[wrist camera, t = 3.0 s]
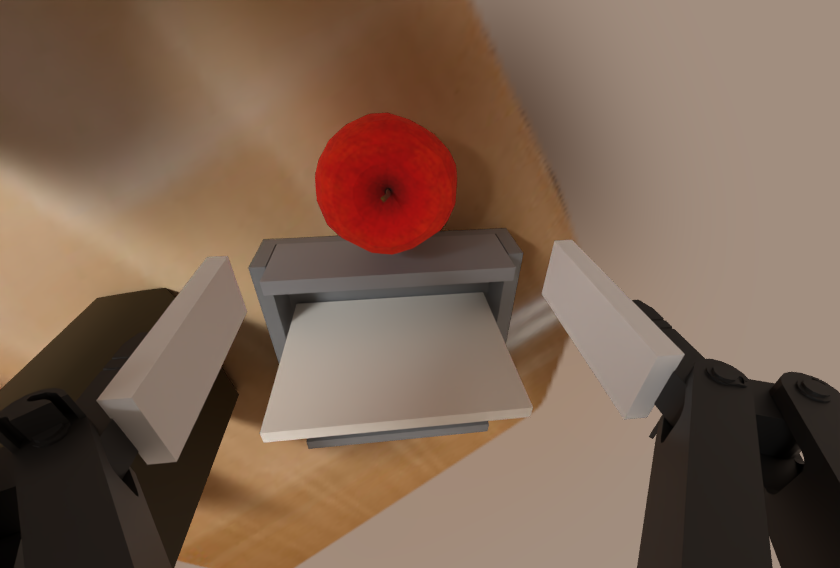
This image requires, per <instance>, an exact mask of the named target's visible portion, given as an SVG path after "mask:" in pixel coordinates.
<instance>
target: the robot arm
mask: <svg viewBox="0 0 840 568" xmlns="http://www.w3.org/2000/svg"><path fill="white" fill-rule="evenodd" d="M542 295H543V297H544V298H545V300H546V301H547V303H548V304H549V306H550V307H551V309H552V311H553V312H554V314H555V315H556V317H557V318H558V320H559V321H560V323H561V324H562V326H563V327H564V329H565V330H566V332H567V333H568V335H569V336H570V338H571V339H572V341H573V342H574V344H575V345H576V347H577V349H578V350H579V352H580V353H581V355H582V356H583V358H584V359H585V361H586V362H587V364H588V365H589V367H590V368H591V370H592V372H593V373H594V375H595V376H596V378H597V379H598V381H599V382H600V384H601V385H602V387H603V388H604V390H605V391H606V393H607V394H608V396H609V397H610V399H611V400H612V402H613V403H614V405H615V407H616V408H617V410H618V411H619V413H620V414H621V416H622V417H623V419H635V418H645V417H648V415H649V413H650V412H651V410H652V408H653V407H654V405H656V407H657V408H658V409H659V410H660V412H661V413H662V414H663V415H662V416H661V418H660V420H659V421H658V423H657V424H656V426H655V427H654V429H653V431H652V432H651V434H650V436H649V437H650V438H652V439H653V438H654V437H655V435H656V434H657V435H656V442H655V448H654V455H653V462H652V469H651V476H650V483H649V490H648V496H647V503H646V510H645V517H644V524H643V531H642V537H641V544H640V551H639V558H638V566H637V568H772V559H771V550H770V541H769V537H770V539H771V542H772V545H773V547H774V550H775V553H776V555H777V558H778V561H779V563H780V566H781V568H840V393H839V392H838V391H837V390H836V389H834V388H833V387H831V386H830V385H828V384H827V383H826V382H824V381H822V380H819V379H818V378H815V377H813V376H809V375H806V374H803V373H797V372H788V373H784V374H783V375H782V376H781V377H780V378H779V379H778V381H777V382H776V383H775V384H774V383H768V382H762V381H756V380H751V379H748V378H747V377H746V376H745V375H744V374H743V373H742V372H740V371H739V370H737V369H736V368H734V367H733V366H731V365H728V364H726V363H724V362H722V361H718V360H714V359H705V358H704V357H703V356H702V355H701V354H700V353H699V352H697V350H696V349H694V348H693V347H692V346H691V345H690V344H689V343H688V342H687V341H686V340H685V339H684V338H683V337H682V336H681V335H680V334H679V333H678V332H677V331H676V330H675V329H672V326H670V324H668V322H666V321H664V320H663V318H662V317H661V316H660V315H659V314H658V313H657V312H656V311H655V310H654V309H653V308H652V307H649V306H648V305H646V304H645V303H643V302H641V301H639V300H631V299H630V298H629V297H628V296H627V295H626V294H625V293H624V292H623V291H622V290H621V289H620V288H619V287H618V286H617V285H616V284H615V283H614V282H613V281H612V280H611V279H610V278H609V277H608V276H607V275H606V274H605V273H604V272H603V271H602V270H601V269H600V268H599V267H598V266H597V265H596V264H595V263H594V262H593V261H592V260H591V258H589V256H588V255H587V254H586V253H585V252H584V251H583V250H582V249H581V248H580V247H579V246H578V245H577V244H576V243H575V242H574V241H573V240H557V241H554V245H553V249H552V253H551V257H550V262H549V266H548V270H547V274H546V278H545V282H544V286H543V290H542ZM246 313H247V310H246V307H245V304H244V301H243V298H242V295H241V292H240V290H239V287H238V284H237V281H236V278H235V275H234V272H233V269H232V267H231V264H230V261H229V258H228V256H216V257H207V258H206V259H205V260H204V261H203V263H202V264H201V265H200V267H199V268H198V269H197V271H196V272H195V273H194V274H193V276H192V277H191V278H190V280H189V281H188V282H187V284H186V285H185V286H184V287H183V289H182V290H181V291H180V293H179V294H178V295H177V296H176V298H175V299H174V300H173V302H172V303H171V304H170V306H169V307H168V308H167V309H166V311H165V312H164V313H163V315H162V316H161V317H160V319H159V320H158V321H157V322H156V324H155V325H154V326H153V328H152V329H151V330H150V331H149V332H139V333H138V334H136V335H135V336H134V337H132V338H131V339H129V340H128V341H127V342H125V343H124V344H123V345H122V346H121V347H120V348H119V350H118V351H117V352H116V353H115V354H114V356H113V357H112V360H109V362H108V363H107V364H106V365H105V366H104V368H103V371H100V373H99V374H98V375H97V376H96V377H95V379H94V380H93V381H92V382H91V383H90V385H89V386H88V387H87V388H86V389H85V391H84V392H83V393H82V394H81V395H80V397H79V398H78V399H77V400H76V402H74V401H73V400H72V398H71V397H70V396H69V395H68V394H67V393H66V392H65V390H64V389H58V388H49V389H43V390H39V391H36V392H33V393H31V394H28V395H25V396H24V397H22V398H20V399H18V400H16V401H14V402H12V403H11V404H9V405H8V406H7V407H5V408H4V409H3V410H1V411H0V443H1V444H2V445H3V446H4V447H2V448H0V568H172V567H171V565H170V562H169V559H168V557H167V554H166V552H165V549H164V546H163V544H162V541H161V539H160V536H159V533H158V531H157V528H156V526H155V523H154V520H153V518H152V515H151V513H150V510H149V507H148V505H147V502H146V500H145V497H144V494H143V492H142V489H141V487H140V484H139V481H138V479H137V476H136V474H135V472H134V471H133V470H132V468H131V467H130V466H131V464H132V462H133V460H134V459H135V457H136V455H137V454H138V453H139V455H140V456H141V457H142V458H143V460H144V461H145V462H146V463H147V465H148V464H159V463H170V462H177V460H178V458H179V456H180V454H181V452H182V450H183V447H184V445H185V443H186V441H187V439H188V437H189V435H190V432H191V430H192V428H193V426H194V424H195V422H196V420H197V418H198V415H199V413H200V411H201V409H202V407H203V405H204V403H205V400H206V398H207V396H208V394H209V392H210V390H211V388H212V386H213V383H214V381H215V379H216V377H217V375H218V373H219V371H220V369H221V366H222V364H223V362H224V360H225V358H226V356H227V354H228V351H229V349H230V347H231V345H232V343H233V341H234V339H235V337H236V334H237V332H238V330H239V328H240V326H241V324H242V322H243V319H244V317H245V315H246ZM801 451H802V453H803V456H804V461H803V459H802V457H801V456H800V454H799V453H800V452H801Z"/></svg>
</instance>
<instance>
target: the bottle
mask: <svg viewBox="0 0 840 568" xmlns="http://www.w3.org/2000/svg"><path fill="white" fill-rule="evenodd" d="M174 299H175V297H174V296H173V295H172V294H171V293H170V292H169V291H168V290H167V289H166V288H161V289H152V290H144V291H137V292H131V293H125V294H119V295H113V296H106V297H100V298H97V299H96V300H95V301H94V302H92V303H91V304H90V305H89V306H88V307H87V308H86V309H85V310H84V311H83V312H82V313H81V314H80V315H79V316H78V317H77V318H76V319H75V320H73V321H72V322H71V323H70V324H69V325H68V326H67V327H66V328H65V329H64V330H63V331H62V332H61V333H60V334H59V335H58V336H57V337H56V338H54V339H53V340H52V341H51V342H50V343H49V344H48V345H47V346H46V347H45V348H44V349H43V350H42V351H41V352H40V353H39V354H38V355H37V356H36V357H34V358H33V359H32V360H31V361H30V362H29V363H28V364H27V365H26V366H25V367H24V368H23V369H22V370H21V371H20V372H19V373H18V374H17V375H15V376H14V377H13V378H12V379H11V380H10V381H9V382H8V383H7V384H6V385H5V386H4V387H3V388H2V389H1V390H0V411H1V410H3V409H4V408H5V407H7V406H8V405H9V404H11V403H12V402H14V401H16V400H18V399H20V398H22V397H24V396H25V395H28V394H31V393H33V392H36V391H39V390H43V389H49V388H58V389H64V390H65V392H66V393H67V394H68V395H69V396H70V397H71V398H72V400H73V401H74V402H76V400H77V399H78V398H79V397H80V395H81V394H82V393H83V392H84V391H85V389H86V388H87V387H88V386H89V385H90V383H91V382H92V381H93V380H94V379H95V377H96V376H97V375H98V374H99V373H100V371H103V368H104V366H105V365H106V364H107V363H108V362H109V360H112V357H113V356H114V354H115V353H116V352H117V351H118V350H119V348H120V347H121V346H122V345H123V344H124V343H125V342H127V341H128V340H129V339H131V338H132V337H134V336H135V335H136V334H138V333H139V332H149V331H150V330H151V329H152V328H153V326H154V325H155V324H156V322H157V321H158V320H159V319H160V317H161V316H162V315H163V313H164V312H165V311H166V309H167V308H168V307H169V306H170V304H171V303H172V302H173V300H174ZM238 395H239V394H238V392H237V391H236V389H235V388H234V386H233V385H232V383H231V382H230V380H229V379H228V377H227V376H226V374H225V373H224V371H223V370H222V368H221V369H220V371H219V373H218V375H217V377H216V379H215V381H214V383H213V386H212V388H211V390H210V392H209V394H208V396H207V398H206V400H205V403H204V405H203V407H202V409H201V411H200V413H199V415H198V418H197V420H196V422H195V424H194V426H193V428H192V430H191V432H190V435H189V437H188V439H187V441H186V443H185V445H184V447H183V450H182V452H181V454H180V456H179V458H178V460H177V462H170V463H159V464H148V465H147V463H146V462H145V461H144V460H143V458H142V457H141V456H140V455H139V453H138V454H137V455H136V457H135V459H134V460H133V462H132V464H131V466H130V467H131V468H132V470H133V471H134V472H135V474H136V476H137V479H138V481H139V484H140V487H141V489H142V492H143V494H144V497H145V500H146V502H147V505H148V507H149V510H150V513H151V515H152V518H153V520H154V523H155V526H156V528H157V531H158V533H159V536H160V539H161V541H162V544H163V546H164V549H165V552H166V554H167V557H168V559H169V562H170V565H171V567H172V568H174V567H175V564H176V561H177V559H178V556H179V553H180V551H181V548H182V545H183V543H184V540H185V537H186V535H187V532H188V529H189V527H190V524H191V521H192V519H193V516H194V513H195V510H196V508H197V505H198V502H199V500H200V497H201V494H202V492H203V489H204V486H205V484H206V481H207V478H208V476H209V473H210V470H211V468H212V465H213V462H214V460H215V457H216V454H217V452H218V449H219V446H220V444H221V441H222V438H223V436H224V433H225V430H226V428H227V425H228V422H229V420H230V417H231V414H232V411H233V409H234V406H235V403H236V401H237V398H238ZM2 447H4V446H3V445H2V444H1V443H0V448H2Z"/></svg>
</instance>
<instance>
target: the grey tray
mask: <svg viewBox="0 0 840 568" xmlns="http://www.w3.org/2000/svg"><path fill="white" fill-rule="evenodd" d="M522 257H523V252H522V250H521V249H520V248H519V246H518V245H517V243H516V242H515V240H514V239H513V238H512V236H511V235H510V233H509V232H508V230H507V229H506V228H500V229H478V230H456V231H439V232H437V233H436V234H434V235H433V236H431V237H430V238H428V239H427V240H425V241H424V242H422V243H421V244H419V245H418V246H416V247H414V248H413V249H409V250H406V251H403V252H400V253H396V254H393V255H391V254H379V253H371V252H369V251H367V250H365V249H363V248H361V247H359V246H357V245H355V244H353V243H351V242H349V241H347V240H345V239H343V238H341V237H340V236H326V237H304V238H283V239H263V241H262V243H261V245H260V247H259V249H258V251H257V252H256V254H255V256H254V258H253V260H252V262H251V264H250V265H249V267H248V268H249V271H250V275H251V278H252V281H253V284H254V287H255V290H256V293H257V296H258V300H259V303H260V306H261V309H262V312H263V315H264V318H265V321H266V325H267V328H268V331H269V334H270V337H271V340H272V343H273V346H274V350H275V353H276V356H277V359H278V362H279V364H280V360H281V357H282V353H283V350H284V346H285V343H286V339H287V336H288V332H289V329H290V325H291V322H292V318H293V315H294V311H295V308H296V304H301V303H317V302H333V301H349V300H365V299H381V298H397V297H413V296H429V295H445V294H460V293H476V292H483V293H484V296H485V298H486V300H487V302H488V305H489V307H490V309H491V312H492V314H493V316H494V319H495V321H496V323H497V326H498V328H499V330H500V333H501V335H502V337H503V339H504V342H505V344H506V340H507V335H508V330H509V324H510V319H511V314H512V309H513V304H514V299H515V294H516V288H517V283H518V278H519V273H520V268H521V263H522ZM488 426H489V423H488V421H481V422H471V423H461V424H450V425H440V426H429V427H419V428H409V429H398V430H388V431H378V432H367V433H357V434H347V435H336V436H326V437H316V438H307V445H308V448H309V449H313V448H323V447H333V446H343V445H353V444H363V443H373V442H383V441H393V440H403V439H413V438H423V437H433V436H443V435H453V434H463V433H473V432H483V431H488Z"/></svg>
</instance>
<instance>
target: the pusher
mask: <svg viewBox="0 0 840 568" xmlns="http://www.w3.org/2000/svg"><path fill="white" fill-rule="evenodd" d="M532 409H533V406H532V404H531V402H530V399H529V397H528V395H527V393H526V390H525V388H524V386H523V383H522V381H521V379H520V376H519V374H518V372H517V369H516V367H515V365H514V363H513V360H512V358H511V356H510V353H509V351H508V349H507V346H506V344H505V342H504V339H503V337H502V335H501V333H500V330H499V328H498V326H497V323H496V321H495V319H494V316H493V314H492V312H491V309H490V307H489V305H488V302H487V300H486V298H485V296H484V293H483V292H476V293H460V294H445V295H429V296H413V297H397V298H381V299H365V300H349V301H333V302H317V303H301V304H296V308H295V311H294V315H293V318H292V322H291V325H290V329H289V332H288V336H287V339H286V343H285V346H284V350H283V353H282V357H281V360H280V364H279V367H278V371H277V374H276V378H275V382H274V385H273V389H272V392H271V396H270V399H269V403H268V406H267V410H266V413H265V417H264V420H263V424H262V427H261V431H260V435H261V437H262V440H263V442H274V441H285V440H295V439H305V438H316V437H326V436H336V435H347V434H357V433H367V432H378V431H388V430H398V429H409V428H419V427H429V426H440V425H450V424H461V423H471V422H481V421H492V420H502V419H512V418H523V417H530V416H531V413H532Z"/></svg>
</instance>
